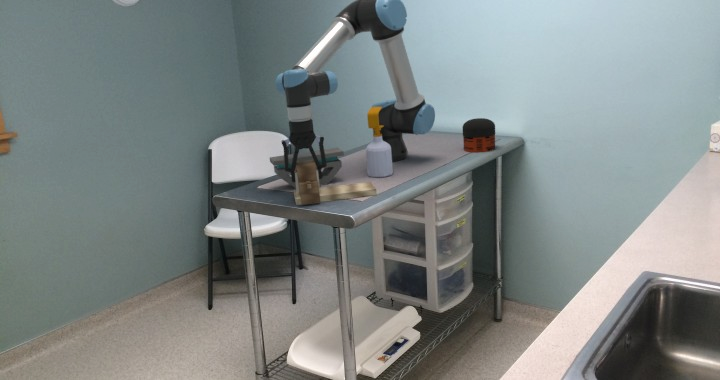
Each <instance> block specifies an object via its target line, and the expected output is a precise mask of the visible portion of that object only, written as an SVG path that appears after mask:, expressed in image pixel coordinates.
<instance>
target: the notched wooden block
mask: <svg viewBox="0 0 720 380" xmlns="http://www.w3.org/2000/svg"><path fill="white" fill-rule="evenodd" d="M296 171H297V177H298V186H299V195H300V197H301V206H303V205H311V204H319V203H321V202H320V193H319V184H318V181H317V174H316V165H315V162H314V160H307V161H298V162H296Z"/></svg>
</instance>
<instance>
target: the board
mask: <svg viewBox="0 0 720 380" xmlns="http://www.w3.org/2000/svg"><path fill="white" fill-rule="evenodd" d="M319 193H320V203H324V202H332V201H333V202H334V201H339V200H347V198H349V199H354V198H353V197H357V198H363V197H362V196H365V197H372V196H377V188H376V186H374V184H373V183H372V182H371V181H366V182H357V183H349V184H342V185H340V184H339V185H334V186H325V187H320V190H319ZM293 197H294V201H295V206H299V205H301V197H300V195H299V192H298V193H297V191H296V190H294V191H293ZM301 206H302V205H301Z"/></svg>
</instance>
